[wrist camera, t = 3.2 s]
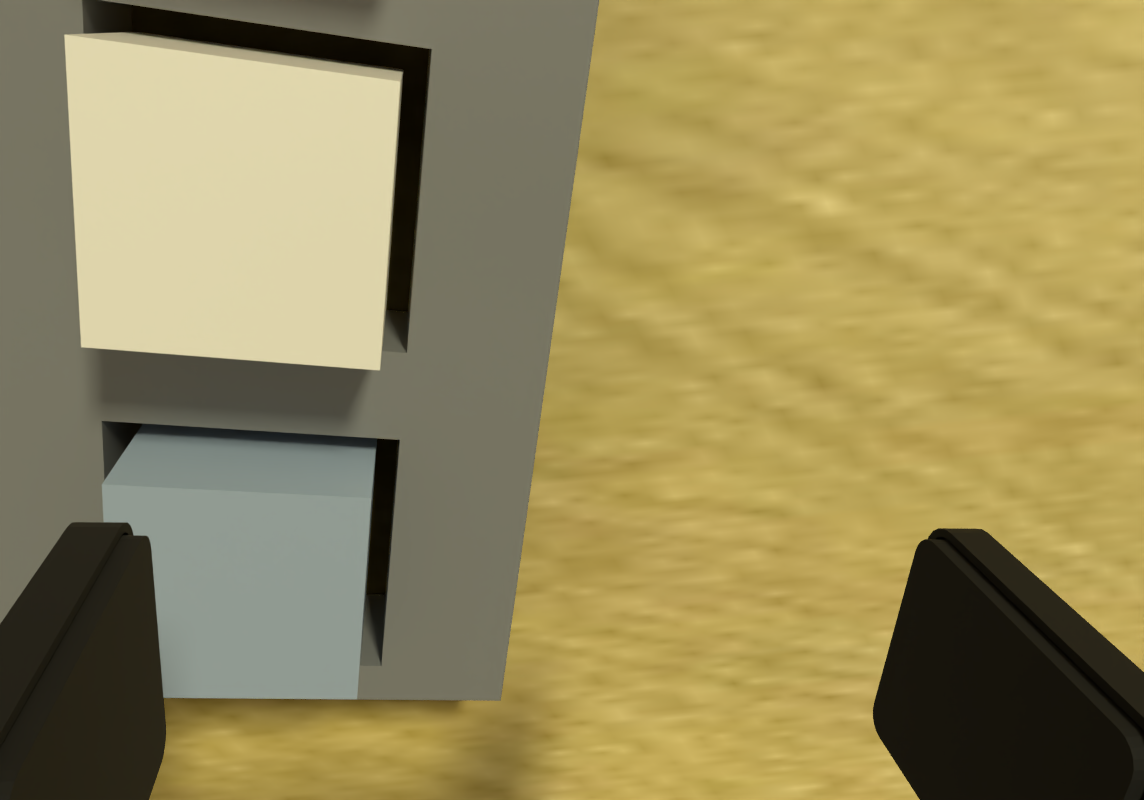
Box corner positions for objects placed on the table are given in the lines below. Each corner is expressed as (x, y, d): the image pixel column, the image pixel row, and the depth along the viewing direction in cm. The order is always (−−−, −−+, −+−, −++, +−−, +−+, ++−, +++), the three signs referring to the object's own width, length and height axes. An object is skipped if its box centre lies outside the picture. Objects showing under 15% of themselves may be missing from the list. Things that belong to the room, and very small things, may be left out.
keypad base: (631, -442, 17) (673, -531, 14) (491, 628, 26) (500, 700, 23) (-87, -633, 15) (-201, -782, 12) (23, 616, 23) (-29, 696, 21)
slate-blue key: (378, 419, 22) (371, 498, 18) (365, 595, 24) (356, 699, 20) (156, 403, 21) (101, 484, 17) (160, 588, 23) (112, 697, 19)
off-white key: (403, 69, 18) (400, 81, 15) (386, 307, 20) (380, 370, 17) (138, 31, 17) (64, 35, 14) (144, 285, 19) (81, 347, 16)
